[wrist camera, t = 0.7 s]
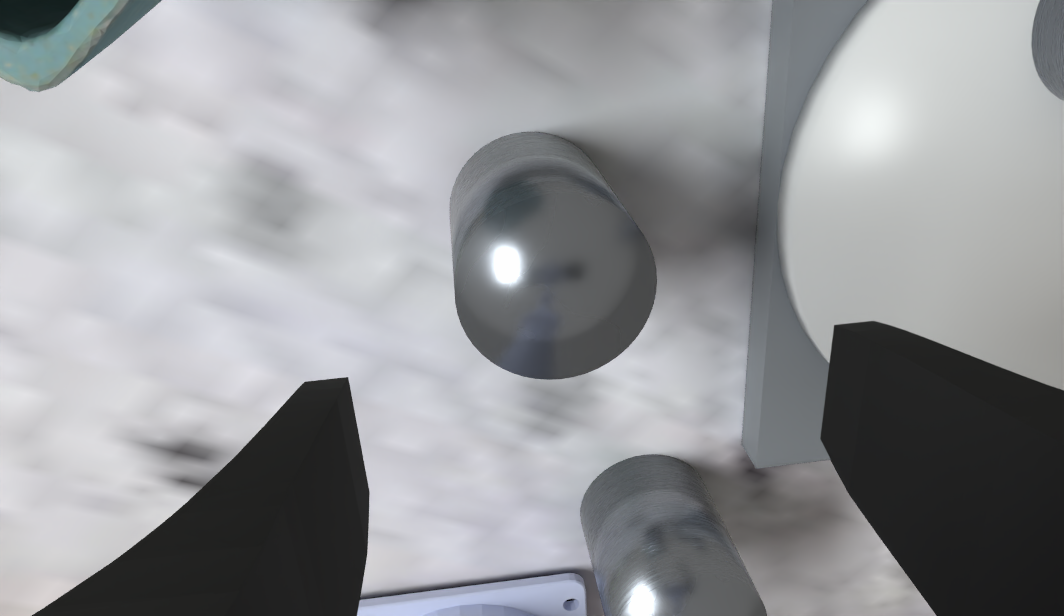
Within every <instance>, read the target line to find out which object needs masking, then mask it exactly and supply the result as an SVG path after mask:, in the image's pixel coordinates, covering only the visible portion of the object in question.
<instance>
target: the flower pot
mask: <svg viewBox="0 0 1064 616" xmlns="http://www.w3.org/2000/svg"><path fill="white" fill-rule="evenodd" d="M160 1H161V0H0V77H1V78H2V79H4V80H6V81H8V82H10V83H12V84H16V85H20V86H22V87H24V88H26V89H28V90H29V91H36V92H40V91H43V90H47V89H50V88H53V87H56V86H57V85H59V84H60V83H62V82H63V81H64V80H66V79H67V78H68V77H70V76H71V75H72V74H73V73H75V72H76V71H77V70H79V69H80V68H81V67H82V66H84V65H85V64H86V63H87V62H88V61H90V60H91V59H92V58H94V57H95V56H96V55H97V54H99V53H100V52H101V51H102V50H104V49H105V48H106V47H107V46H109V45H110V44H111V43H113V42H114V41H115V40H116V39H117V38H118V37H120V36H121V35H122V34H123V33H124V32H125V31H127V30H128V29H129V28H130V27H131V26H132V25H134V24H135V23H136V22H137V21H138V20H140V19H141V18H142V17H143V16H144V15H145V14H147V13H148V12H149V11H150V10H151V9H152V8H153V7H155V6H156V5H157V4H158V3H159V2H160Z"/></svg>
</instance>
